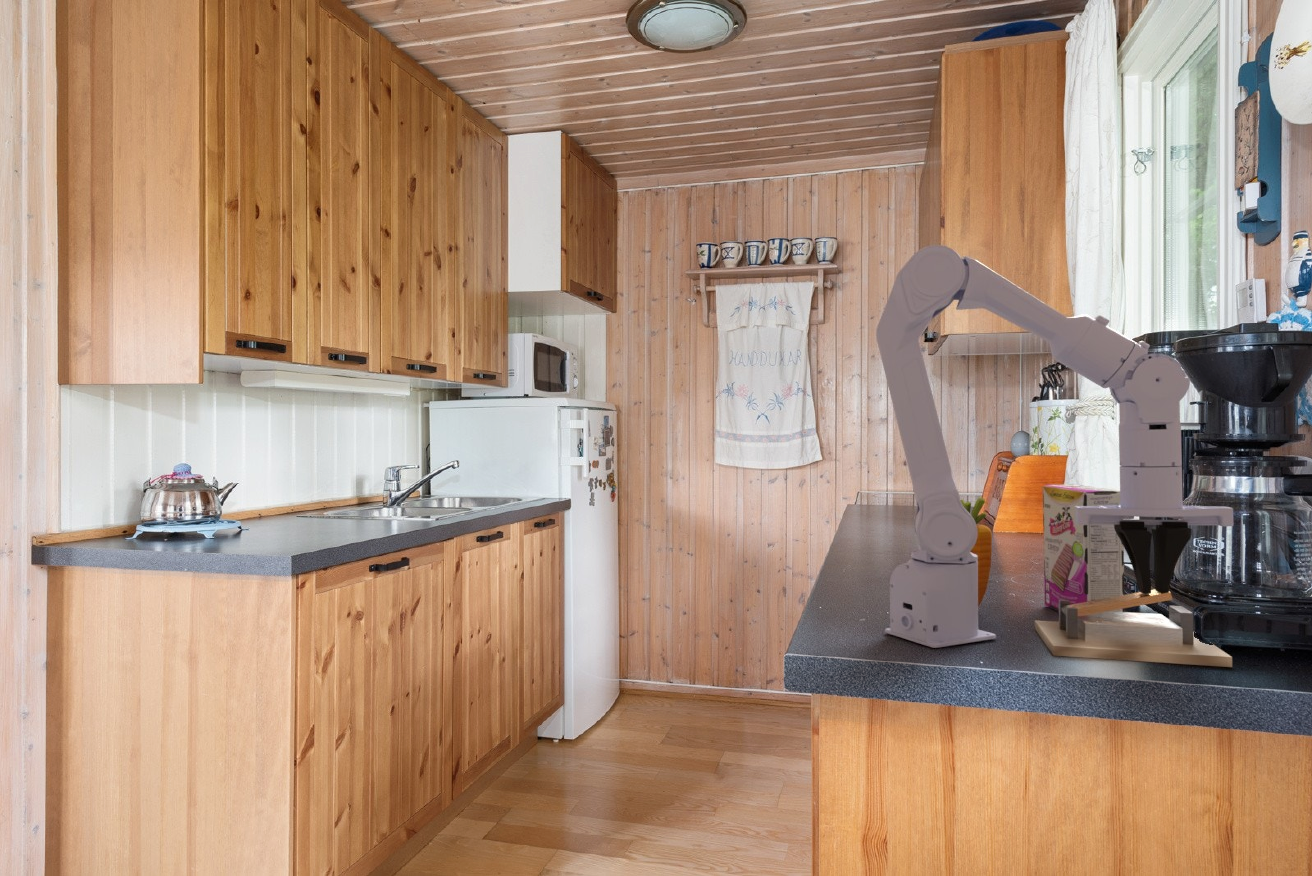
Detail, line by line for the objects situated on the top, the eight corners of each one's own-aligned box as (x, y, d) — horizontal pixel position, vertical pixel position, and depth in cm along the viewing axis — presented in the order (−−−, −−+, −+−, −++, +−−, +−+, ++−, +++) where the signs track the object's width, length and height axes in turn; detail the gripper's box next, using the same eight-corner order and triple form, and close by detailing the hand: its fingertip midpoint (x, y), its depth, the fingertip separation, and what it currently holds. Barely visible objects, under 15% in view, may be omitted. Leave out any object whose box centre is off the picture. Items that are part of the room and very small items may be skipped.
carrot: (947, 607, 107) (946, 495, 107) (985, 607, 107) (984, 495, 107) (960, 615, 102) (959, 498, 102) (1000, 615, 102) (999, 498, 102)
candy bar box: (1041, 606, 107) (1040, 484, 107) (1078, 606, 107) (1077, 484, 107) (1085, 626, 96) (1084, 490, 96) (1127, 626, 96) (1126, 489, 96)
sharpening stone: (1069, 641, 85) (1069, 610, 85) (1057, 626, 92) (1056, 597, 92) (1199, 649, 81) (1199, 616, 81) (1176, 632, 88) (1176, 603, 88)
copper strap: (1067, 618, 87) (1064, 610, 87) (1062, 614, 89) (1060, 606, 89) (1172, 600, 84) (1170, 591, 84) (1165, 595, 86) (1162, 587, 86)
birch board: (1053, 655, 83) (1053, 645, 83) (1034, 628, 94) (1034, 620, 94) (1232, 667, 78) (1232, 657, 78) (1189, 637, 90) (1189, 628, 90)
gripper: (1214, 464, 87) (1217, 587, 87) (1068, 465, 92) (1070, 583, 92) (1240, 466, 81) (1243, 600, 81) (1081, 468, 85) (1084, 595, 85)
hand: (1153, 592), depth 86 cm, fingers closed
